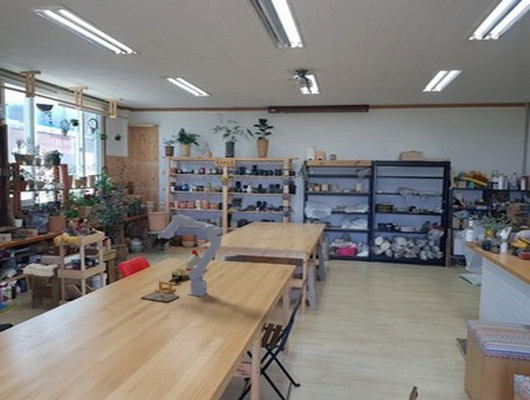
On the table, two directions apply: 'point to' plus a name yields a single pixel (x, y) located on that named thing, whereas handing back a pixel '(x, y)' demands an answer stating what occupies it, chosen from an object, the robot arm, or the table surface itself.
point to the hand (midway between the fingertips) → (158, 244)
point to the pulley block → (179, 275)
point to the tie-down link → (161, 289)
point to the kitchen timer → (192, 261)
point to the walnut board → (158, 298)
